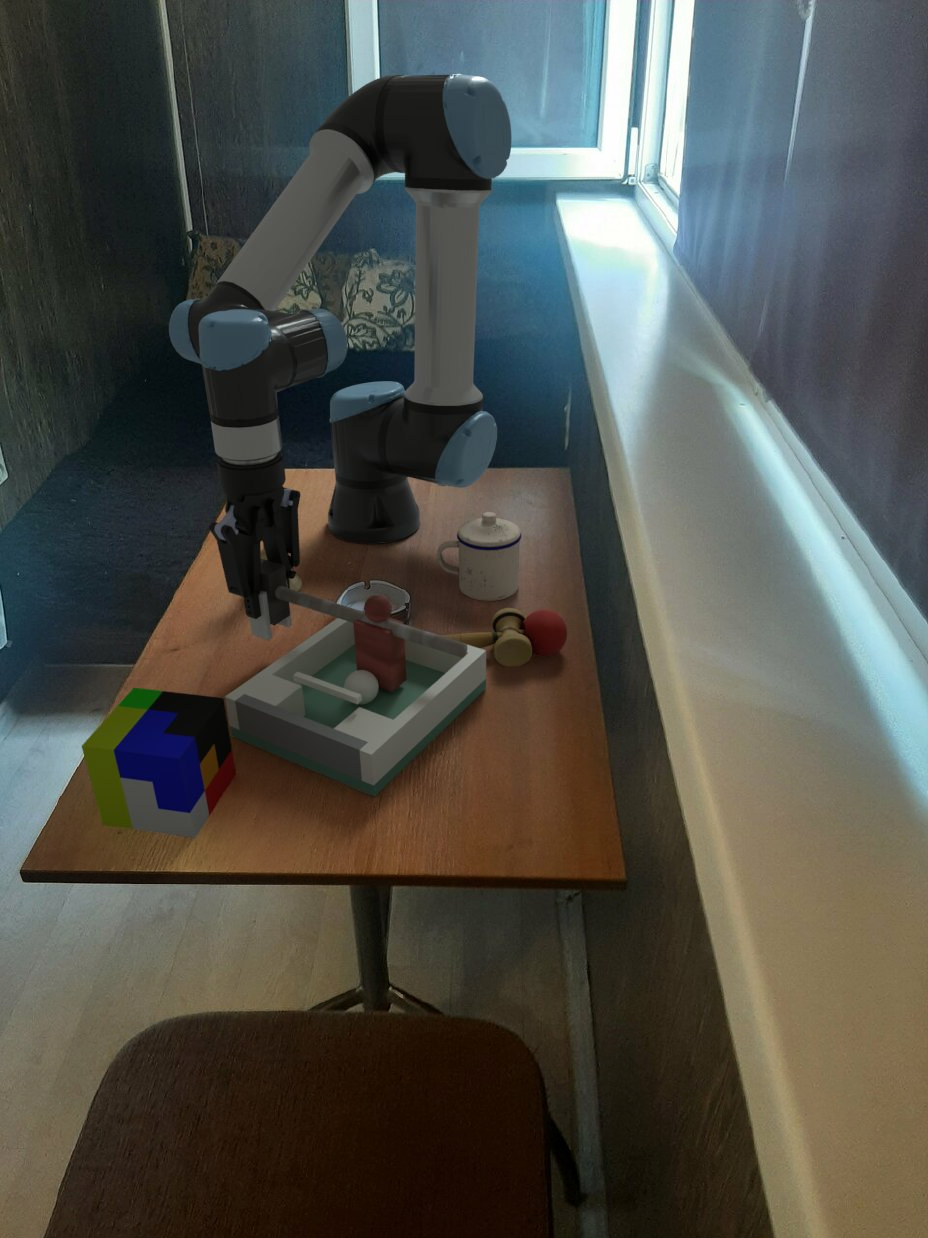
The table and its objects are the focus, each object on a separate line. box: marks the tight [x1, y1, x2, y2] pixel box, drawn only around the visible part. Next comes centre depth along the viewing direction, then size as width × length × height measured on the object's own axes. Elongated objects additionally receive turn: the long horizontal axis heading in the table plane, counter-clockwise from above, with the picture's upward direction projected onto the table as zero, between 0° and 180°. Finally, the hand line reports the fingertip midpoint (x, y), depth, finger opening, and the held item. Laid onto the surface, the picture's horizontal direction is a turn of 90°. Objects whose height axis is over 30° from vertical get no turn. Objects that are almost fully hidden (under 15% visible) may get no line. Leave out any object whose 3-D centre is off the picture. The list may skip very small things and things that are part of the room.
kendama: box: [440, 607, 568, 667], centre depth 121 cm, size 8×6×18 cm
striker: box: [261, 559, 468, 692], centre depth 112 cm, size 3×30×11 cm, turn 59°
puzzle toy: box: [81, 687, 237, 839], centre depth 96 cm, size 10×10×10 cm
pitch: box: [224, 617, 487, 797], centre depth 109 cm, size 23×20×7 cm
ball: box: [344, 670, 379, 705], centre depth 109 cm, size 4×4×4 cm
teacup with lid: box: [436, 511, 522, 602], centre depth 135 cm, size 12×9×12 cm
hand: (272, 629), depth 120 cm, fingers closed on striker, 3 cm apart
